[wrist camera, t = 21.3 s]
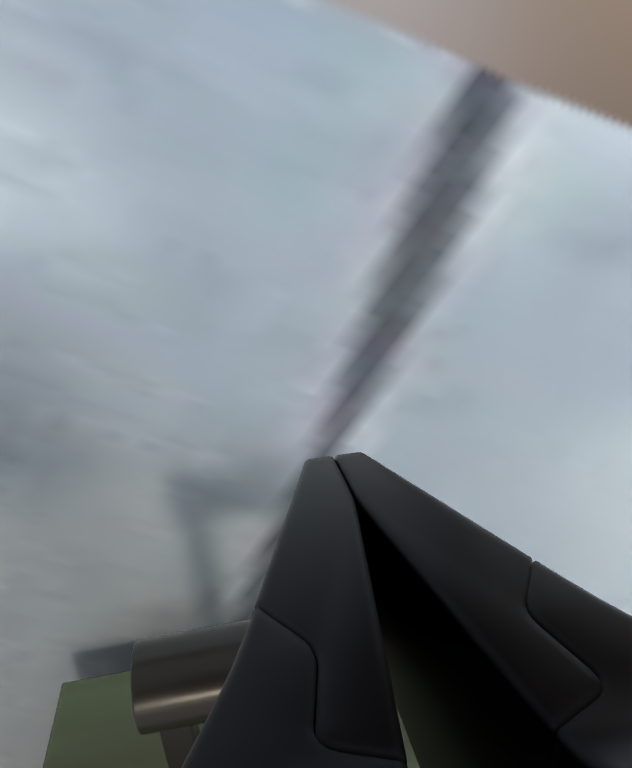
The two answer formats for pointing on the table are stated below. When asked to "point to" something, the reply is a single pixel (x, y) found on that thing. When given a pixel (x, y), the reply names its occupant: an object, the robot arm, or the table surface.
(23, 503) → the table surface
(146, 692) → the drawer
